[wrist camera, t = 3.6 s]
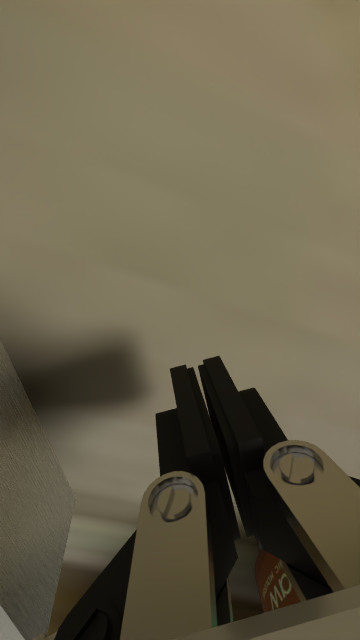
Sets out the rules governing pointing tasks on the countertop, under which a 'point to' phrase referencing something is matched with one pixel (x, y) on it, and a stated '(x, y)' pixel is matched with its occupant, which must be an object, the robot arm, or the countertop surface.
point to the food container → (273, 583)
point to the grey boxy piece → (28, 513)
